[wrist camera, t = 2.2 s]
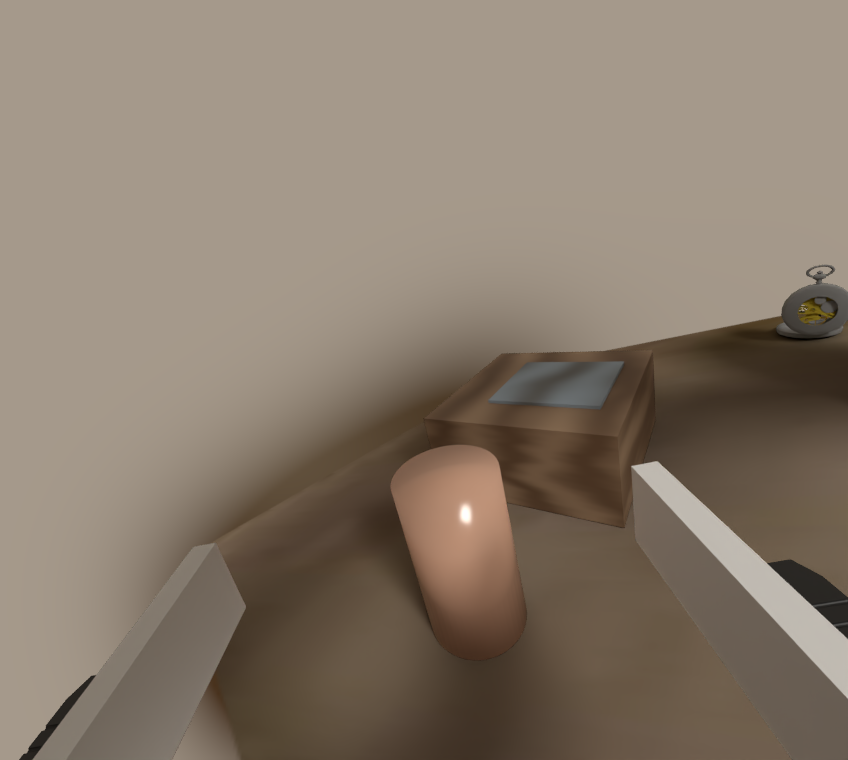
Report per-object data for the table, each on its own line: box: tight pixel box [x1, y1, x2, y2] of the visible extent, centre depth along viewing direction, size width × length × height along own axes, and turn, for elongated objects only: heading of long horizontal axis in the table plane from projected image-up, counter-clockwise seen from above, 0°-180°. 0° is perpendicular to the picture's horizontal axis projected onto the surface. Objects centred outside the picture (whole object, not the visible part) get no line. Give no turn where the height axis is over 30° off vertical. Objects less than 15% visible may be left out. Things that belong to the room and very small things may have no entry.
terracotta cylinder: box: [391, 445, 527, 660], centre depth 25 cm, size 6×6×11 cm
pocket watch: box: [776, 265, 848, 339], centre depth 53 cm, size 8×8×10 cm
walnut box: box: [424, 350, 656, 528], centre depth 41 cm, size 17×18×8 cm
